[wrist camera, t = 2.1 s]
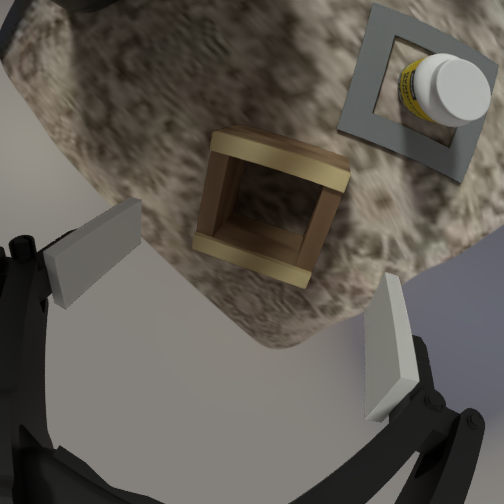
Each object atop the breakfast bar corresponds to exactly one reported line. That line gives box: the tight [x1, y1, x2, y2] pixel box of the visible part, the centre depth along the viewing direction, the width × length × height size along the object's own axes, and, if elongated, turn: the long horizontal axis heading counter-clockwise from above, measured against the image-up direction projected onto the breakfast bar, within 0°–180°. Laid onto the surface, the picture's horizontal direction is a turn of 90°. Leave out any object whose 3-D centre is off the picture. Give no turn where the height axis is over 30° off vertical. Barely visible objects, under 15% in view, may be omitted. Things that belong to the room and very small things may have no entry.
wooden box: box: [192, 124, 351, 289], centre depth 27 cm, size 10×10×6 cm
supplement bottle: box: [398, 53, 491, 127], centre depth 17 cm, size 5×5×10 cm
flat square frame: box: [337, 3, 499, 183], centre depth 21 cm, size 13×13×1 cm
